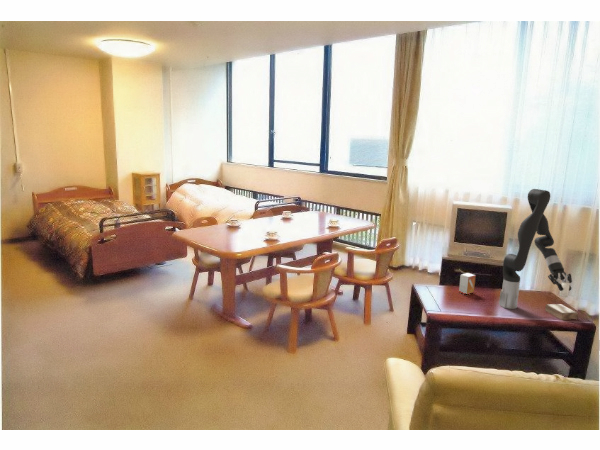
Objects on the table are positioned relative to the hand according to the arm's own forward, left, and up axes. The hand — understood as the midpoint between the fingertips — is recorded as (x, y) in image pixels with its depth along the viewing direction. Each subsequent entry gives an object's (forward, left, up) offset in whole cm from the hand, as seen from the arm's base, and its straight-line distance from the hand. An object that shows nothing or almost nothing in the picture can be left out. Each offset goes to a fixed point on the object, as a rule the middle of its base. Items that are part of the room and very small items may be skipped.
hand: (565, 290), depth 252 cm
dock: (0, +1, -16) cm, 16 cm away
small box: (-39, +41, -16) cm, 59 cm away
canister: (0, +1, -4) cm, 4 cm away
